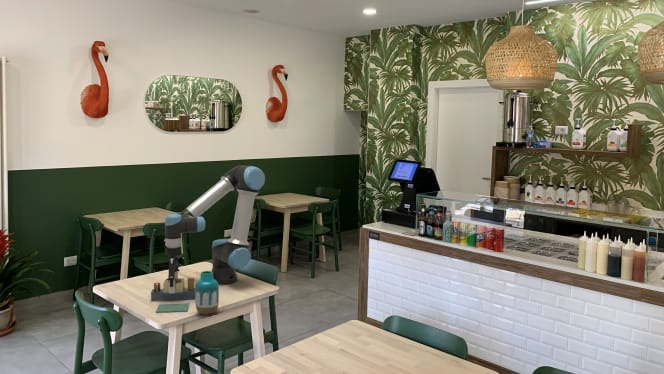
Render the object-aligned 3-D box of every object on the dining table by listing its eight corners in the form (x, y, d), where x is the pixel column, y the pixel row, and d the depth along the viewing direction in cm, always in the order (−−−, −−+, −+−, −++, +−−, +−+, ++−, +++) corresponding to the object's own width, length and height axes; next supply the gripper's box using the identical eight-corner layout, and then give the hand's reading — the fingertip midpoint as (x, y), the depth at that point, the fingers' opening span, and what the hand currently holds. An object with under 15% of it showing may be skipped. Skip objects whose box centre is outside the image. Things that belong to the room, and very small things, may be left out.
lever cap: (184, 287, 265) (184, 276, 264) (182, 292, 257) (182, 281, 256) (165, 287, 263) (165, 277, 263) (163, 293, 255) (163, 282, 254)
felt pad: (189, 304, 253) (189, 303, 253) (187, 311, 243) (187, 310, 243) (158, 305, 251) (158, 304, 250) (155, 313, 241) (155, 311, 241)
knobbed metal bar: (196, 296, 265) (196, 276, 264) (195, 299, 260) (195, 279, 259) (152, 298, 261) (152, 278, 260) (151, 301, 256) (150, 281, 255)
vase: (190, 313, 240) (189, 272, 238) (207, 307, 249) (207, 267, 247) (206, 319, 235) (206, 277, 232) (223, 312, 243) (223, 271, 241)
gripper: (168, 240, 269) (168, 281, 271) (161, 252, 244) (161, 297, 247) (183, 240, 270) (183, 281, 272) (178, 252, 246) (178, 296, 248)
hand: (173, 288), depth 260 cm, fingers open, 13 cm apart
